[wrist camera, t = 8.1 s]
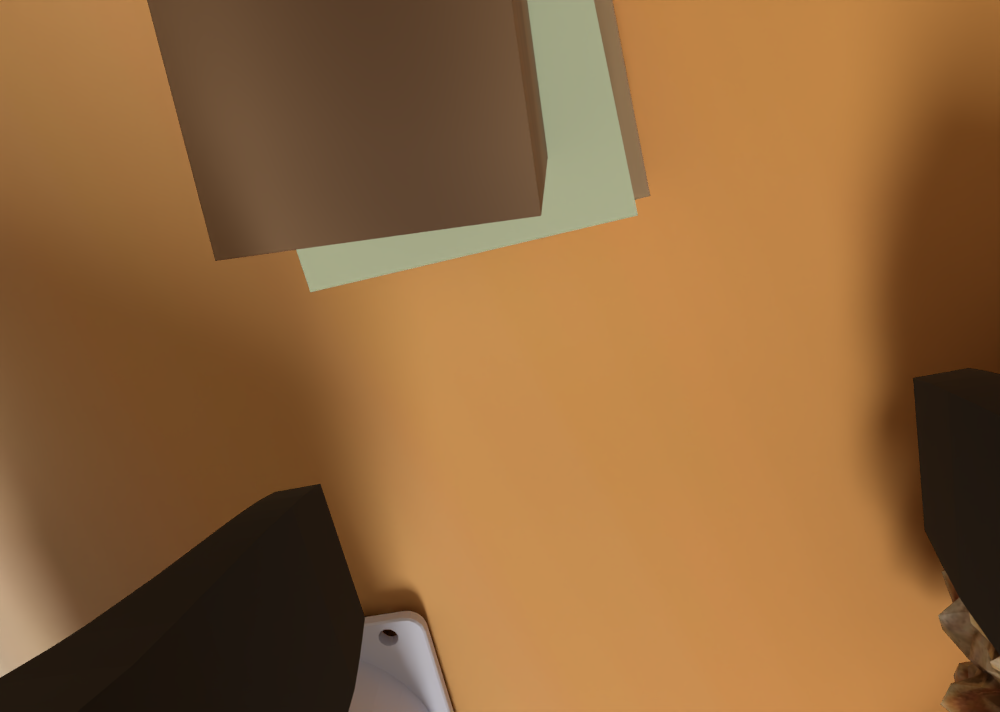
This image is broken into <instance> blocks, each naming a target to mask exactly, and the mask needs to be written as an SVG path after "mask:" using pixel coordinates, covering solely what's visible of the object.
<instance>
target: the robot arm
mask: <svg viewBox="0 0 1000 712" xmlns="http://www.w3.org/2000/svg"><path fill="white" fill-rule="evenodd" d="M913 383H914V396H915V409H916V422H917V435H918V448H919V461H920V474H921V488H922V501H923V514H924V527H925V532H926V534H927V536H928V538H929V540H930V542H931V544H932V546H933V548H934V550H935V552H936V554H937V556H938V558H939V560H940V562H941V564H942V566H943V568H944V570H945V571H946V573H947V575H948V577H949V579H950V581H951V583H952V585H953V586H954V588H955V590H956V592H957V594H958V596H959V598H960V599H961V601H962V602H963V604H964V605H965V607H966V608H967V610H968V611H969V613H970V614H971V615H972V617H973V618H974V620H975V621H976V623H977V624H978V625H979V627H980V628H981V630H982V631H983V633H984V634H985V635H986V637H987V638H988V640H989V641H990V642H991V644H992V645H993V647H994V648H995V649H996V651H997V652H998V654H999V655H1000V374H996V373H992V372H988V371H983V370H978V369H971V368H966V369H961V370H955V371H950V372H944V373H938V374H933V375H927V376H922V377H916V378H913ZM385 629H388V630H392V631H394V632H396V634H397V635H395V636H388V635H386V634H384V633H383V630H385ZM0 712H454V711H453V708H452V704H451V701H450V698H449V695H448V691H447V688H446V685H445V682H444V678H443V675H442V672H441V668H440V665H439V662H438V659H437V655H436V652H435V649H434V646H433V642H432V639H431V636H430V632H429V629H428V626H427V623H426V621H425V620H424V618H423V617H422V616H421V615H419V614H418V613H415V612H412V611H400V612H394V613H388V614H381V615H375V616H369V617H364V614H363V611H362V608H361V605H360V602H359V599H358V596H357V593H356V590H355V587H354V584H353V581H352V578H351V575H350V572H349V569H348V566H347V563H346V560H345V557H344V554H343V551H342V548H341V545H340V542H339V539H338V536H337V533H336V529H335V526H334V523H333V520H332V517H331V514H330V511H329V508H328V505H327V502H326V499H325V496H324V493H323V490H322V487H321V484H317V485H312V486H306V487H301V488H295V489H289V490H284V491H278V492H274V493H272V494H270V495H269V496H267V497H265V498H263V499H261V500H260V501H258V502H256V503H255V504H253V505H252V506H250V507H249V508H247V509H246V510H244V511H243V512H242V513H240V514H239V515H237V516H236V517H235V518H233V519H232V520H230V521H229V522H228V523H226V524H225V525H224V526H222V527H221V528H220V529H218V530H217V531H216V532H214V533H213V534H212V535H210V536H209V537H208V538H206V539H205V540H204V541H202V542H201V543H200V544H198V545H197V546H196V547H194V548H193V549H192V550H190V551H189V552H188V553H186V554H185V555H184V556H182V557H181V558H180V559H178V560H177V561H176V562H174V563H173V564H172V565H170V566H169V567H168V568H166V569H165V570H164V571H162V572H161V573H160V574H158V575H157V576H156V577H154V578H153V579H151V580H150V581H148V582H147V583H146V584H144V585H143V586H141V587H140V588H138V589H137V590H136V591H134V592H133V593H131V594H130V595H129V596H127V597H126V598H124V599H123V600H121V601H120V602H119V603H117V604H116V605H114V606H113V607H111V608H110V609H109V610H107V611H106V612H104V613H103V614H102V615H100V616H99V617H97V618H96V619H94V620H93V621H92V622H90V623H89V624H87V625H86V626H84V627H83V628H81V629H80V630H78V631H76V632H75V633H73V634H72V635H70V636H69V637H67V638H66V639H64V640H62V641H61V642H59V643H58V644H56V645H54V646H53V647H51V648H50V649H48V650H46V651H45V652H43V653H41V654H40V655H38V656H36V657H35V658H33V659H31V660H30V661H28V662H26V663H25V664H23V665H21V666H19V667H18V668H16V669H14V670H13V671H11V672H9V673H8V674H6V675H4V676H3V677H1V678H0Z"/></svg>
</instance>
